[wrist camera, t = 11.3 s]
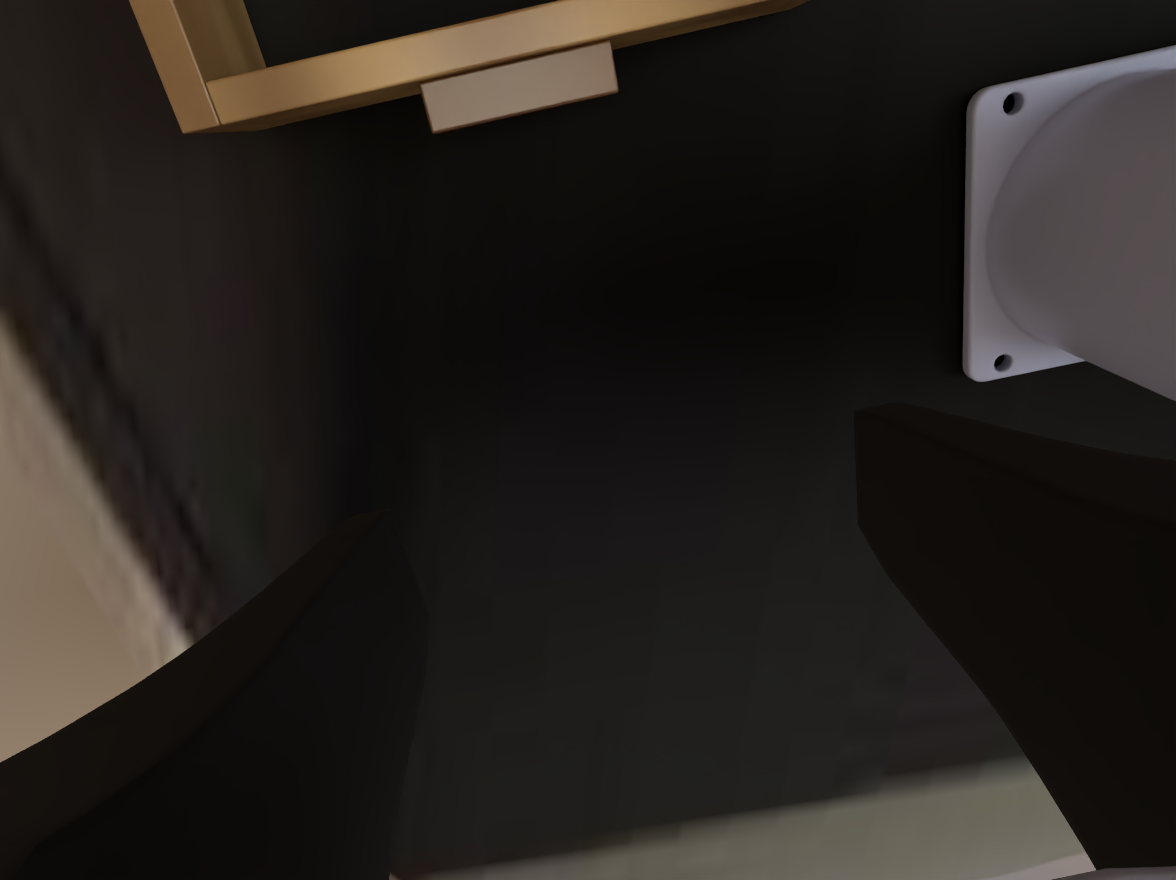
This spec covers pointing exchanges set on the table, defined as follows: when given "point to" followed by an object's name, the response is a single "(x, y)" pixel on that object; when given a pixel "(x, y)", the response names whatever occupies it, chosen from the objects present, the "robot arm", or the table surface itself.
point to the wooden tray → (413, 61)
